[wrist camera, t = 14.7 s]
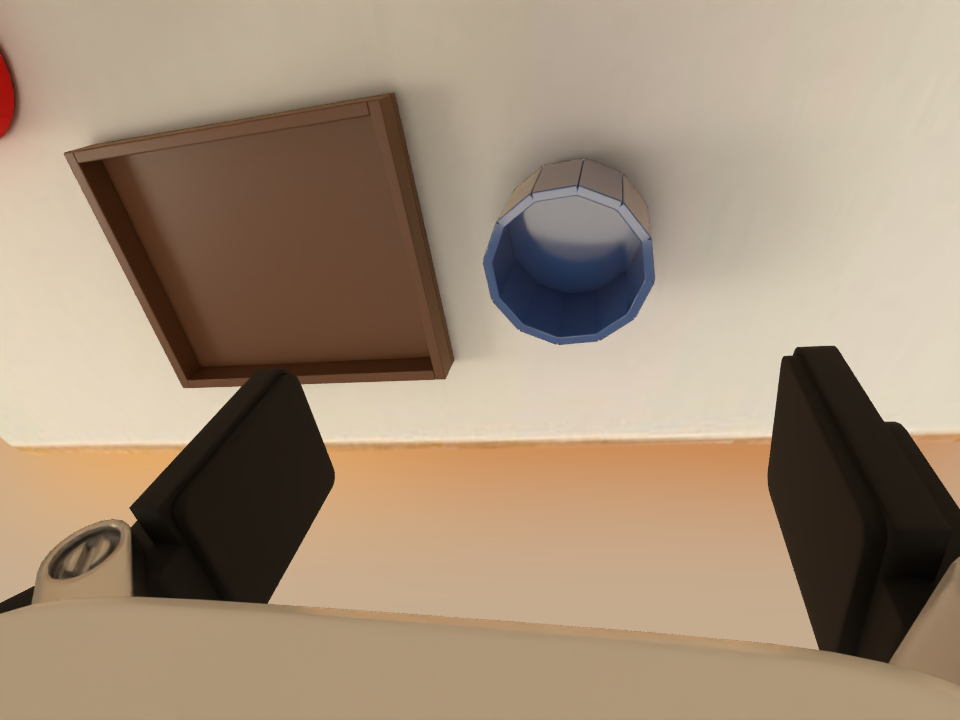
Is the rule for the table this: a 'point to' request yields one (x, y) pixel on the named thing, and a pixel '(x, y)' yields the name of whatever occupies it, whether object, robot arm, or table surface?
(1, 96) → the soda can
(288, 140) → the tray
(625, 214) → the bowl
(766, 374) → the table surface
